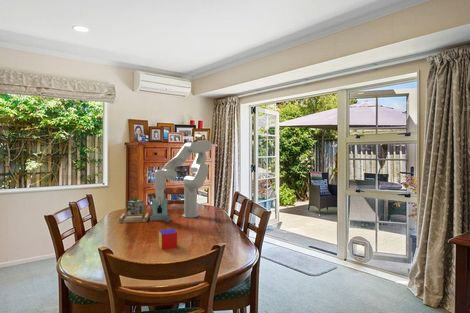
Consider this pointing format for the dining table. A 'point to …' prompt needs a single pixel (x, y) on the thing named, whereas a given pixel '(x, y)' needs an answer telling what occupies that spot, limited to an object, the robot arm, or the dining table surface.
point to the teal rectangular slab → (164, 208)
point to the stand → (160, 218)
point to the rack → (144, 216)
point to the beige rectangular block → (133, 219)
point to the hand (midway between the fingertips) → (159, 212)
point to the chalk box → (135, 207)
